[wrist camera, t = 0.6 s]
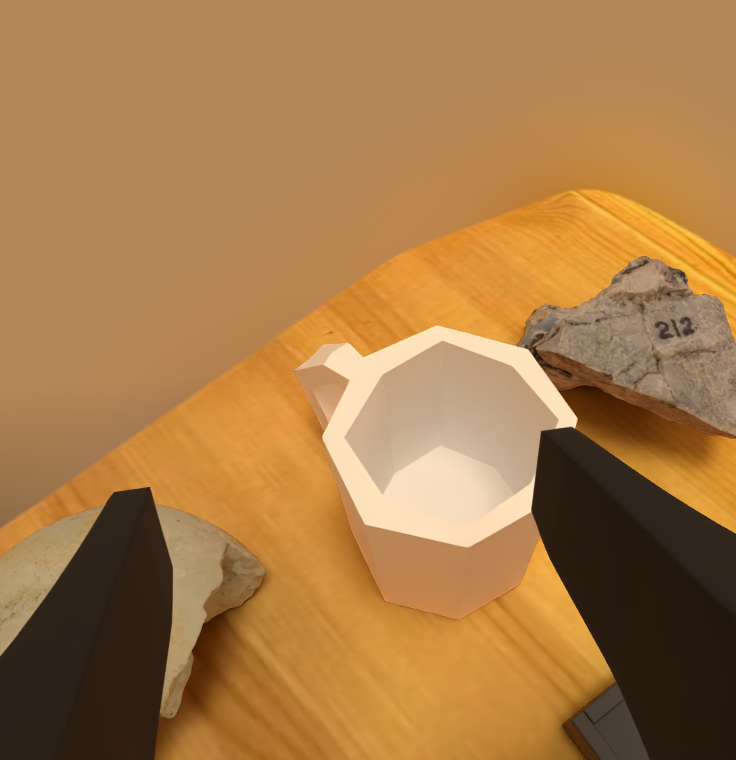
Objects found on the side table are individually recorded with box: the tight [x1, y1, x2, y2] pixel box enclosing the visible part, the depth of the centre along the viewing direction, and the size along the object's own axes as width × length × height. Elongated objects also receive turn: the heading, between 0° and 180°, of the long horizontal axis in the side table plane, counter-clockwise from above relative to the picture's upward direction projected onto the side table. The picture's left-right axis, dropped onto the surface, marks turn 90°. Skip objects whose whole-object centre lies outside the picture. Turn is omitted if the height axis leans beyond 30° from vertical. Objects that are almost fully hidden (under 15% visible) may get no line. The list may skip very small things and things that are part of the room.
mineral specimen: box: [516, 256, 736, 439], centre depth 32 cm, size 10×8×10 cm
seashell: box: [0, 504, 266, 719], centre depth 27 cm, size 13×8×10 cm
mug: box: [294, 325, 578, 620], centre depth 28 cm, size 12×9×10 cm
